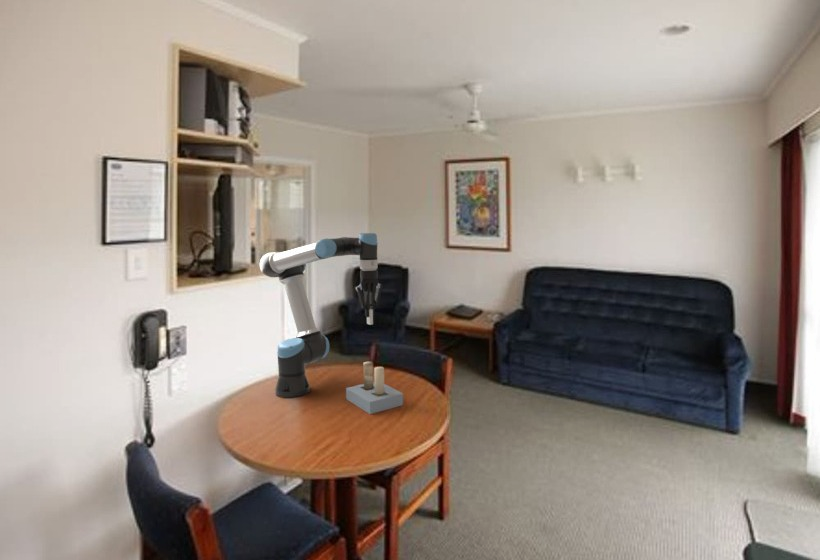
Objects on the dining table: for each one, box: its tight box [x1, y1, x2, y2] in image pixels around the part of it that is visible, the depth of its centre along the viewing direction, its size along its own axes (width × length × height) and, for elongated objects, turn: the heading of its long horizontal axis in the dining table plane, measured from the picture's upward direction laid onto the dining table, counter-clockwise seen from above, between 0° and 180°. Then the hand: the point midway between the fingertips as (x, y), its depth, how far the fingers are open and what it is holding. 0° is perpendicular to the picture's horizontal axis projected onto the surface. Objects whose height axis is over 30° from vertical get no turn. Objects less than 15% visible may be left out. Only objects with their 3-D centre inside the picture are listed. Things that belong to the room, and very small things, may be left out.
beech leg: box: [362, 361, 374, 391], centre depth 207 cm, size 4×4×16 cm
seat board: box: [345, 366, 404, 415], centre depth 203 cm, size 20×16×16 cm
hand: (369, 324), depth 207 cm, fingers closed
